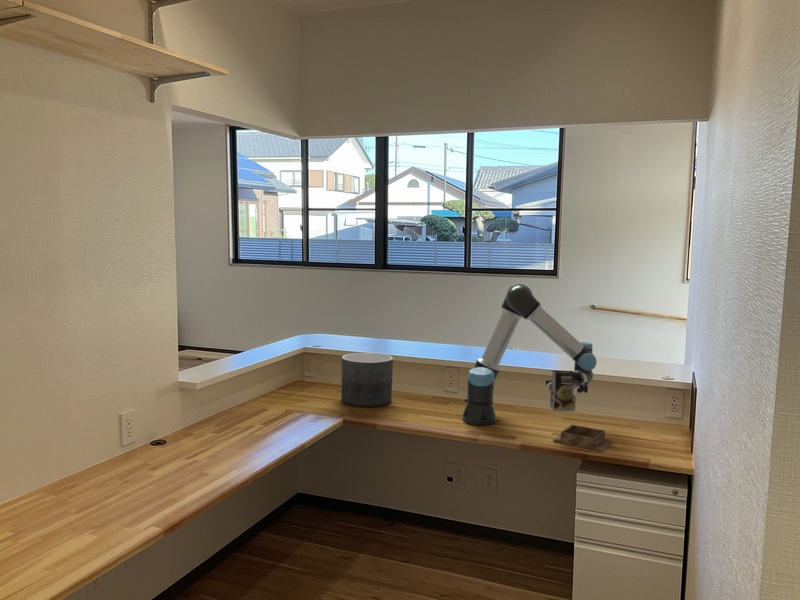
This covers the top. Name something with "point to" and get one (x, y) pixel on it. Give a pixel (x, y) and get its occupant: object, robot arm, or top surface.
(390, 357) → the planter
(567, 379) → the coffee box
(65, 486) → the top surface
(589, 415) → the top surface
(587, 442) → the stand
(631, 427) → the top surface
